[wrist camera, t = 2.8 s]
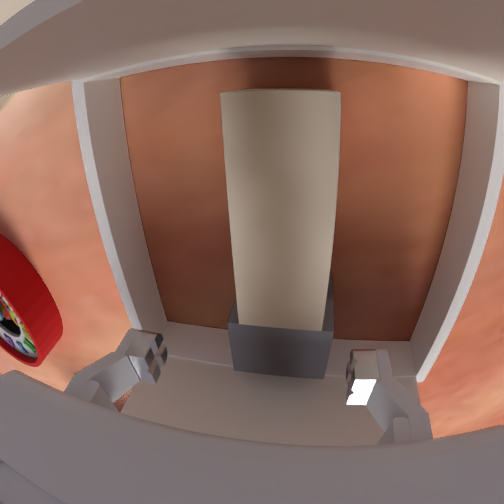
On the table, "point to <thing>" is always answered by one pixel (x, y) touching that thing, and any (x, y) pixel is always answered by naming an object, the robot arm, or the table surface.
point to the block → (282, 226)
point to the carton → (253, 46)
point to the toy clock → (25, 309)
